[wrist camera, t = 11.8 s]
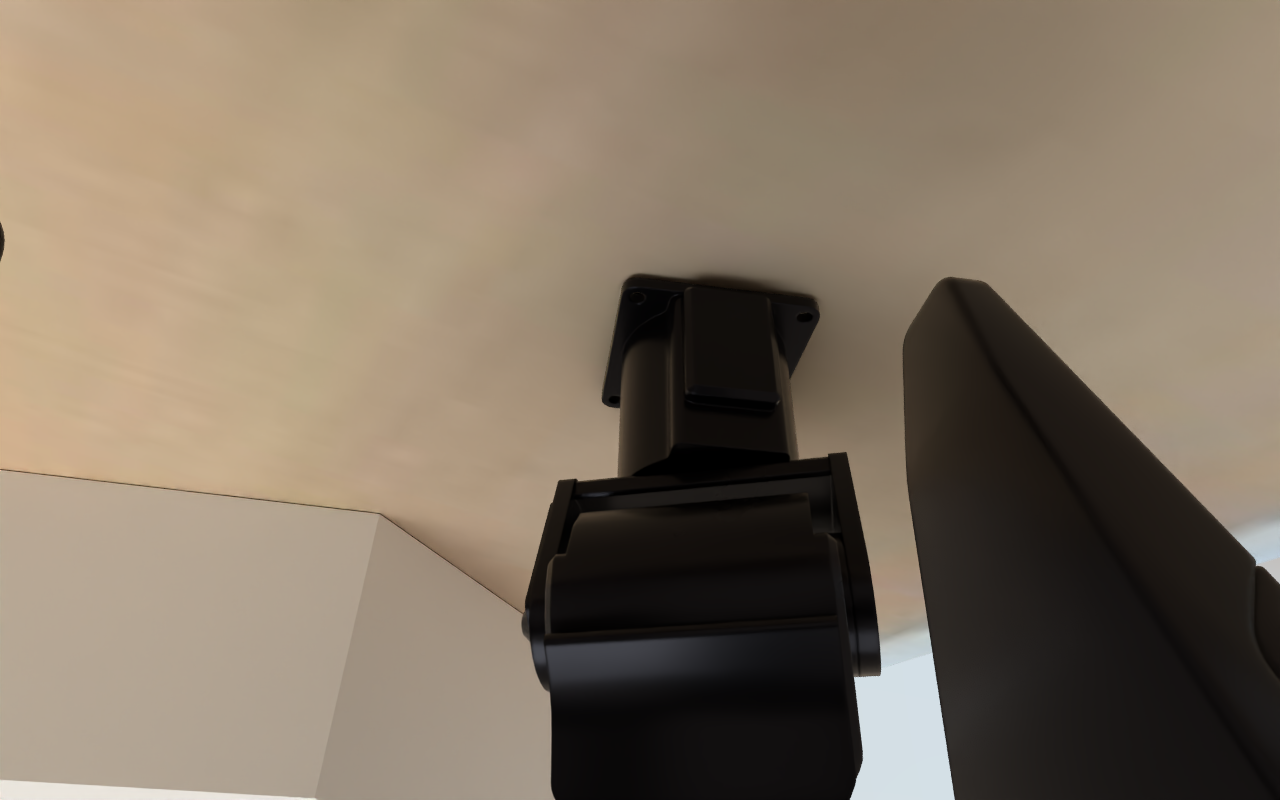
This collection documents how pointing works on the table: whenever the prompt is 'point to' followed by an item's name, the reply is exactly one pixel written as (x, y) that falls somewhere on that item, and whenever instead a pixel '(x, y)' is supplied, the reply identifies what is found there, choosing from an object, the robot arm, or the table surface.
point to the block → (250, 655)
